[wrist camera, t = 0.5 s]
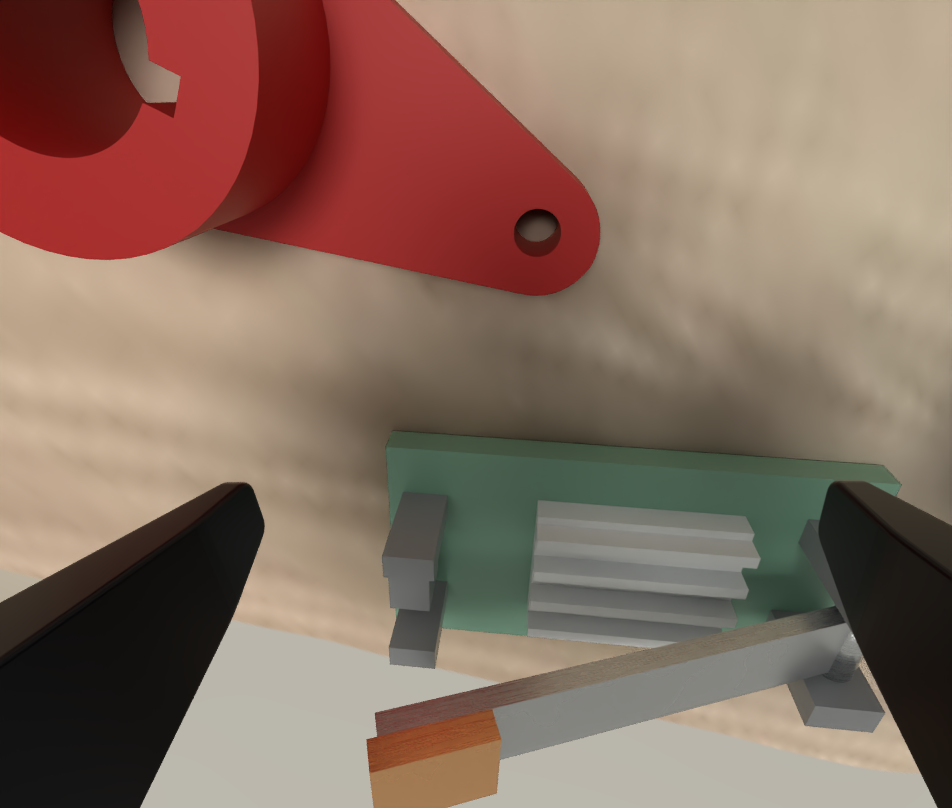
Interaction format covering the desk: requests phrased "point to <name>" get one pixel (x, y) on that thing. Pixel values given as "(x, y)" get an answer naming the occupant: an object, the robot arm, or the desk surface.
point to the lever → (276, 141)
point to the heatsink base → (611, 548)
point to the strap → (590, 704)
